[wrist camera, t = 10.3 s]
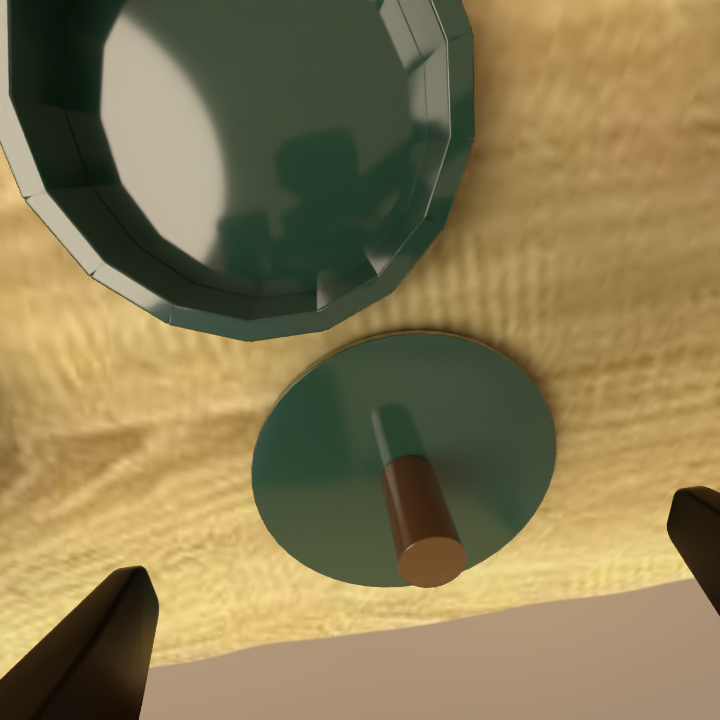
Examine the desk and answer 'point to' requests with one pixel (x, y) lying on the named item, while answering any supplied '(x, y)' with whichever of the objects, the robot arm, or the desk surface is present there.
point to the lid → (403, 459)
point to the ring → (240, 148)
